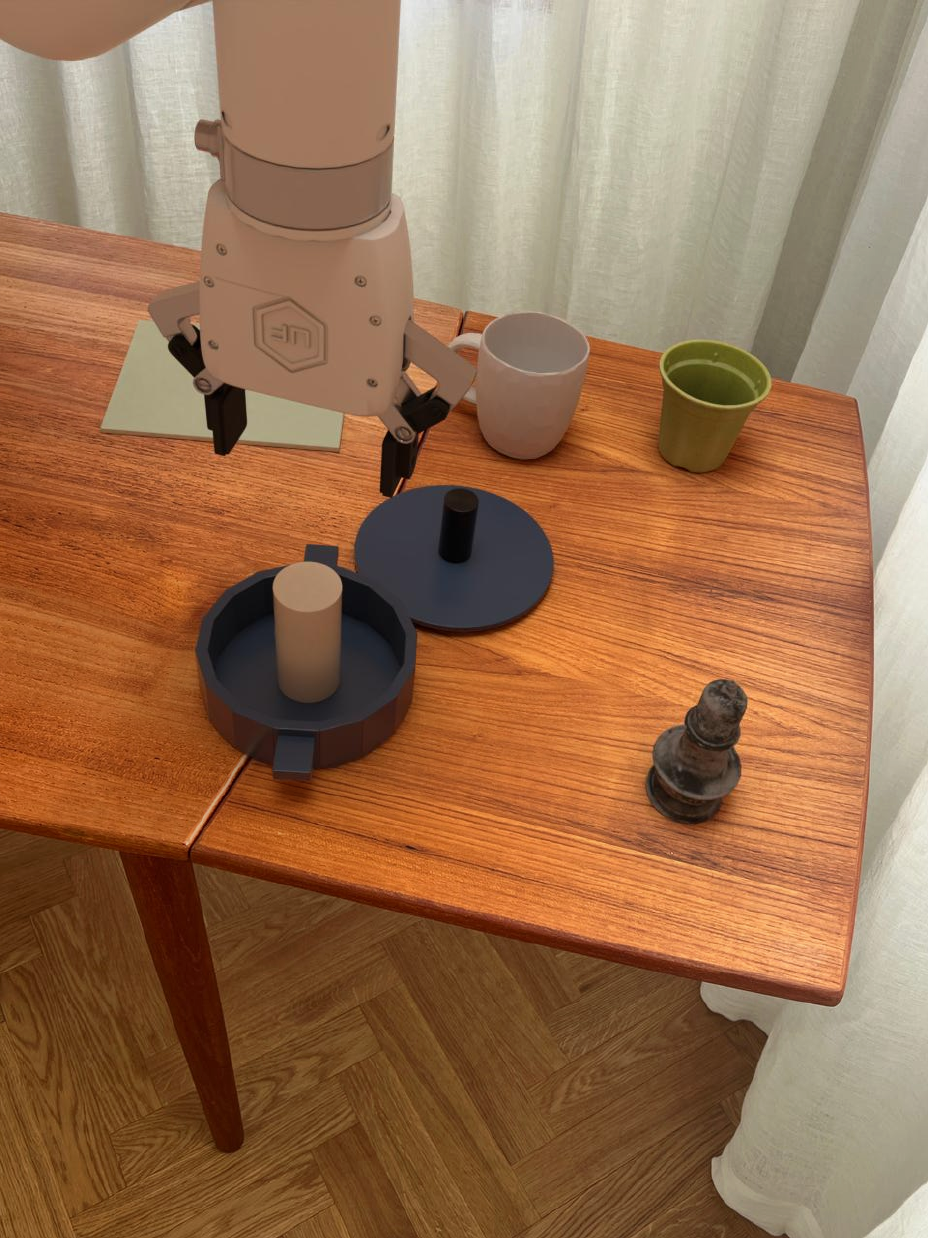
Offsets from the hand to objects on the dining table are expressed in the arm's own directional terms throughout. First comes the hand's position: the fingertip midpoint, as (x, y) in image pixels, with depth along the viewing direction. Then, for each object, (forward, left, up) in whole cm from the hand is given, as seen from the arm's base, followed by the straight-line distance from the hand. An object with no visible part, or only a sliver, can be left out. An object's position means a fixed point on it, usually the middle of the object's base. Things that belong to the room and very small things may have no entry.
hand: (311, 460), depth 63 cm
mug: (+14, +30, -21) cm, 39 cm away
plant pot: (+31, +29, -21) cm, 47 cm away
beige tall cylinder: (0, 0, -20) cm, 20 cm away
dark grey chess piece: (+26, -7, -21) cm, 34 cm away
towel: (-10, +33, -21) cm, 40 cm away
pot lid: (+10, +13, -20) cm, 26 cm away
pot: (0, 0, -21) cm, 21 cm away
